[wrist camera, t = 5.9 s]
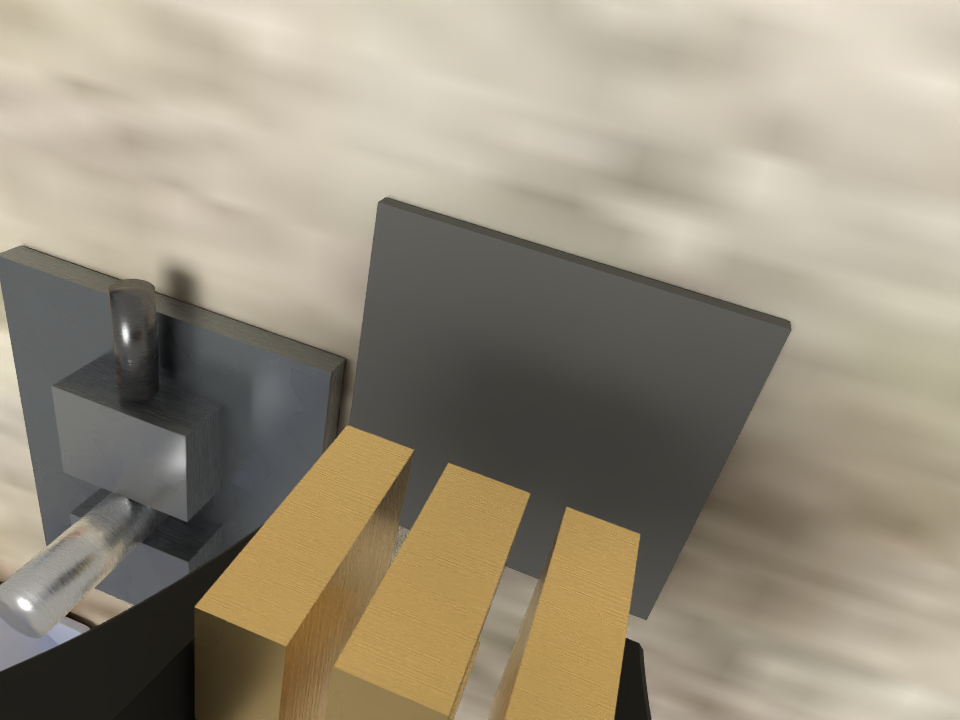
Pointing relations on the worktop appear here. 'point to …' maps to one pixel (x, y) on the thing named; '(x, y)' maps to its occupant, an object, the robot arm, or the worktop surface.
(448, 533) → the tan slotted block
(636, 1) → the worktop surface
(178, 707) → the robot arm
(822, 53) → the worktop surface
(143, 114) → the worktop surface
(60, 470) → the vise
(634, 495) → the mat
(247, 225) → the worktop surface
